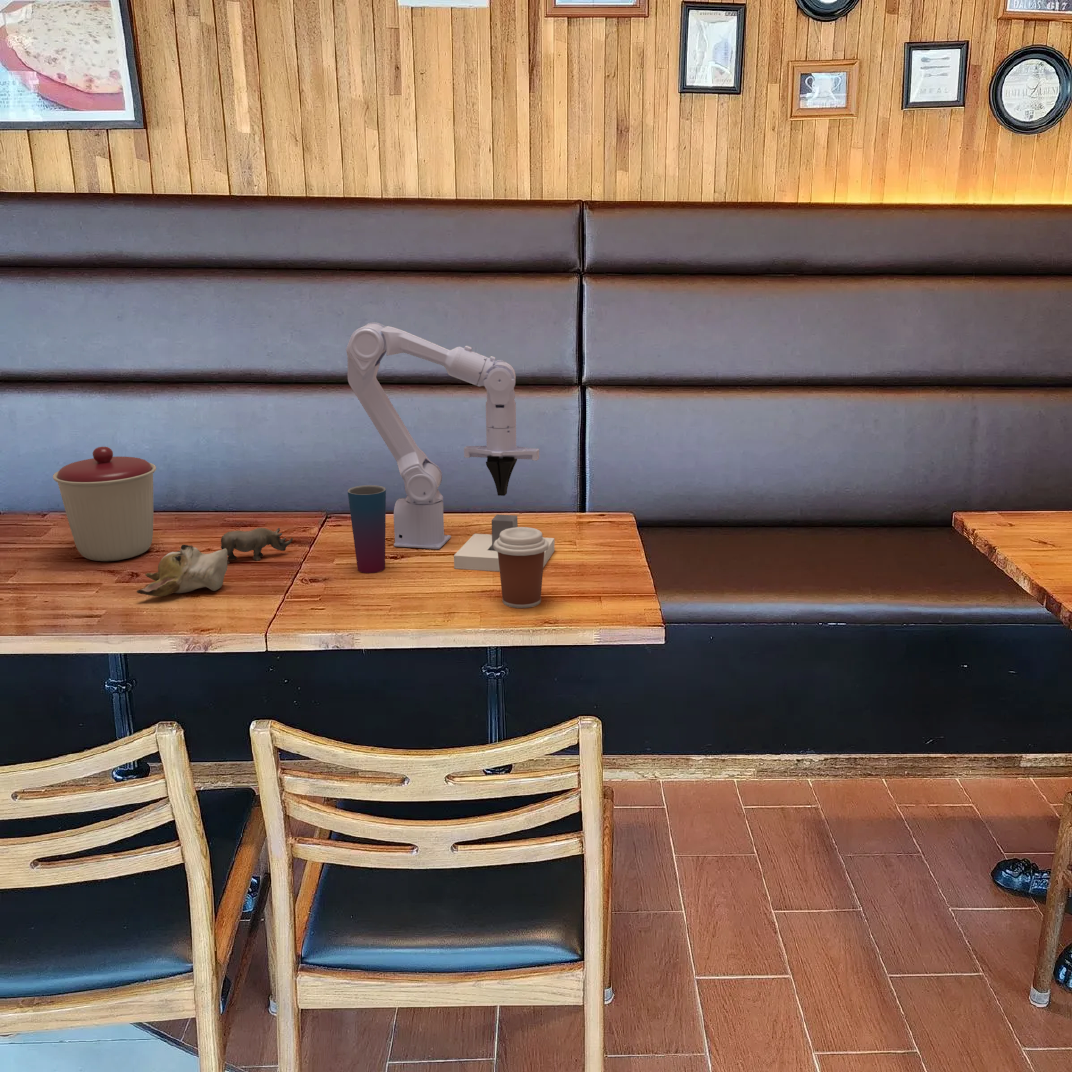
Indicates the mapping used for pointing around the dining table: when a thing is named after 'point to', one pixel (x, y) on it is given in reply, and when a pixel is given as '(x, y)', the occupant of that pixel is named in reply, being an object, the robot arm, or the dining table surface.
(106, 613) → the dining table surface
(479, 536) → the socket plate
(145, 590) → the ceramic sculpture
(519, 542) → the coffee cup
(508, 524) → the plug
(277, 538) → the rhino figurine
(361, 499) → the cup
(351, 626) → the dining table surface
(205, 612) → the dining table surface
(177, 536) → the dining table surface
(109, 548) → the canister
